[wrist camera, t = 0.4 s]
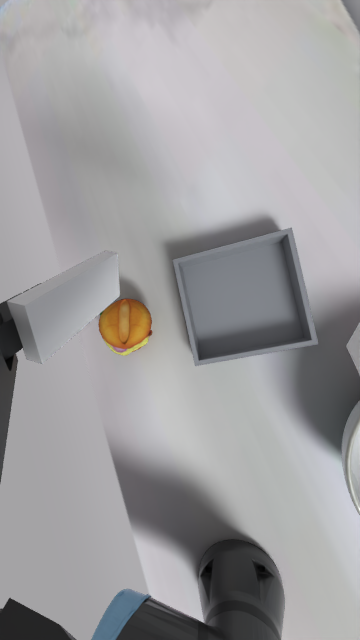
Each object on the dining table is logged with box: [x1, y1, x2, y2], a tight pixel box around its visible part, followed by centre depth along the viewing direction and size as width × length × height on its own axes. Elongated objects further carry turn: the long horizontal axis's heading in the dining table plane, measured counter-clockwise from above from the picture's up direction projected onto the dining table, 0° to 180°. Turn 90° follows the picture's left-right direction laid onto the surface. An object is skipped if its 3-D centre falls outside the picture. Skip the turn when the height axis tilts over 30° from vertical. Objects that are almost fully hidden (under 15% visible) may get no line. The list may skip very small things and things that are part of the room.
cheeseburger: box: [99, 299, 152, 355], centre depth 46 cm, size 10×11×10 cm
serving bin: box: [173, 228, 318, 366], centre depth 43 cm, size 19×20×5 cm
